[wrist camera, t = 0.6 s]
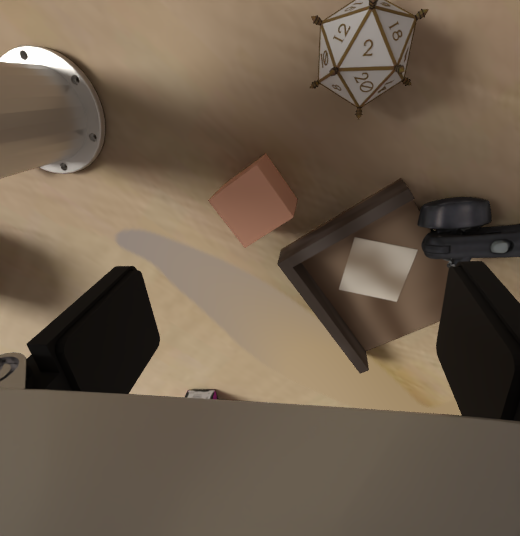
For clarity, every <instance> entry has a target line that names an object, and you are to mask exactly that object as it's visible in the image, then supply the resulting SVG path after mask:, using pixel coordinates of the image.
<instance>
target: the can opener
mask: <svg viewBox="0 0 520 536" xmlns="http://www.w3.org/2000/svg"><path fill="white" fill-rule="evenodd" d="M491 221H492V216H491V208H490V203H489V201H488V200H484V199H479V198H472V197H453V198H445V199H441V200H436V201H433V202H429V203H427V204H424V205H423V206H422V207H421V210H420V214H419V219H418V224H417V225H418V226H419V227H424V228H431V229H436V231H432V232H430V233H428V234H427V235H426V236H425V237H424V239H423V241H422V245H421V247H422V250H423V252H424V254H425V256H426V257H428V258H431V259H443V260H446V261H449V262H448V264H447V267H448V268H450V267H456V264H457V263H458V262H465V261H470V260H471V258H496V257H520V224H518V225H508V226H497V227H496V226H495V227H481V226H483V225H485V224H488V223H490V222H491Z"/></svg>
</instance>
